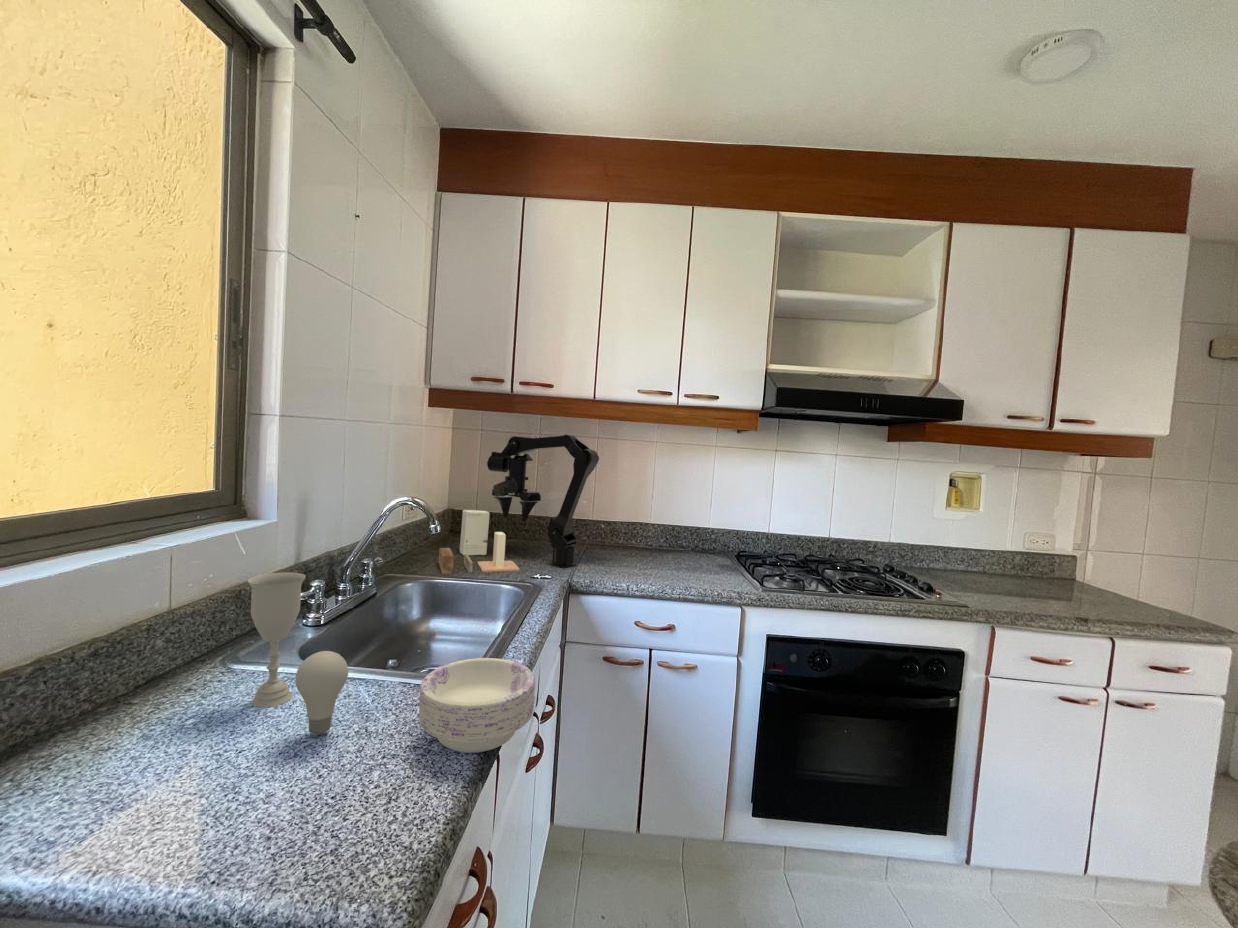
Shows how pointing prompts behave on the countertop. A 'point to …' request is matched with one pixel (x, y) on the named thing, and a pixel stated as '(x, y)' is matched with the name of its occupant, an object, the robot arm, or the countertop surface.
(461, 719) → the paper bowls
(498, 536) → the cream rectangular block
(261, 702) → the chalice
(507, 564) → the terracotta pad
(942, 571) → the countertop surface
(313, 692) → the lightbulb
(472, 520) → the skincare box
